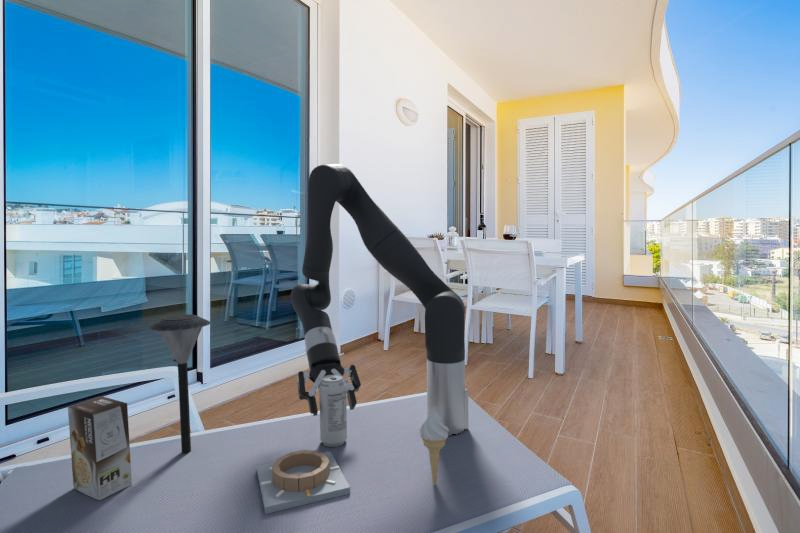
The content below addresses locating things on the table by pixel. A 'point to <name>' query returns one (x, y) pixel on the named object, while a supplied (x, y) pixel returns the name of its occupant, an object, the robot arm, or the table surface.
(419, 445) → the table surface
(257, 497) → the table surface
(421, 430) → the ice cream cone
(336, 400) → the energy drink can
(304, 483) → the dial plate
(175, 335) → the solar garden light
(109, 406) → the coffee box
